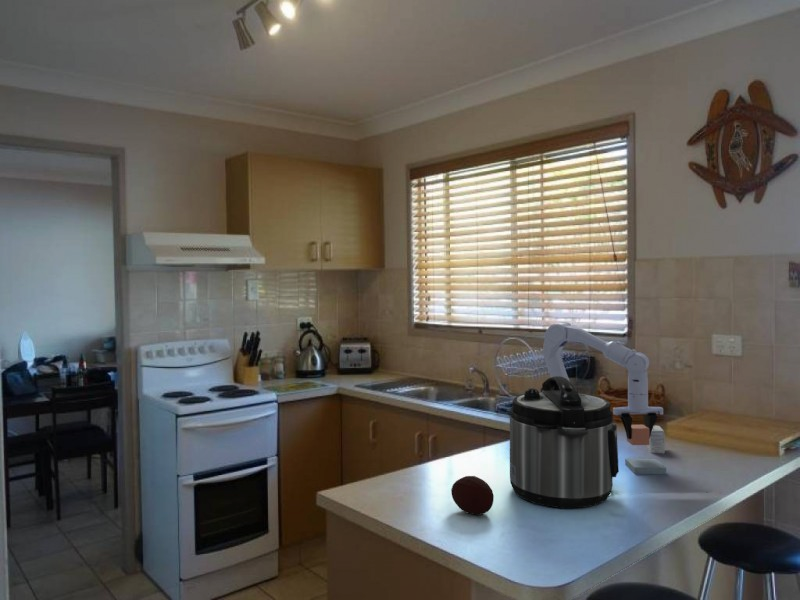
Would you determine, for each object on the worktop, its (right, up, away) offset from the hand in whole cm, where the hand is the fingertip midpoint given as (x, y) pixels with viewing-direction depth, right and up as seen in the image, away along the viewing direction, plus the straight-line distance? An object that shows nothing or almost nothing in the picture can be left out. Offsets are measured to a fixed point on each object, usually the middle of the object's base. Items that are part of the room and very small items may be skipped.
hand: (638, 438), depth 192 cm
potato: (-54, -12, -34) cm, 65 cm away
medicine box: (+12, -9, +16) cm, 22 cm away
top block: (0, -8, -4) cm, 10 cm away
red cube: (0, -2, 0) cm, 2 cm away
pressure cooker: (-28, -11, -20) cm, 36 cm away
